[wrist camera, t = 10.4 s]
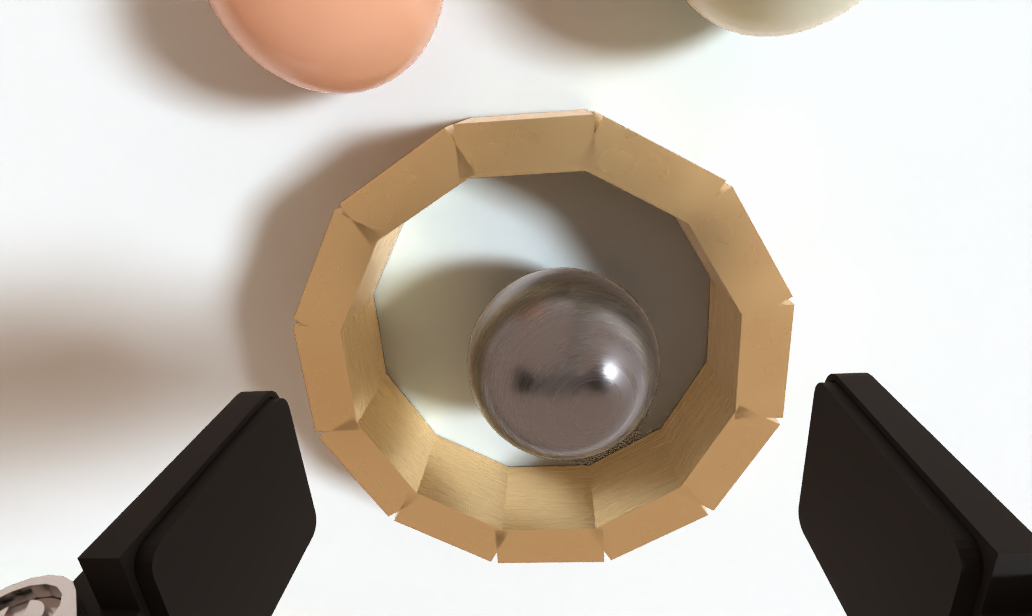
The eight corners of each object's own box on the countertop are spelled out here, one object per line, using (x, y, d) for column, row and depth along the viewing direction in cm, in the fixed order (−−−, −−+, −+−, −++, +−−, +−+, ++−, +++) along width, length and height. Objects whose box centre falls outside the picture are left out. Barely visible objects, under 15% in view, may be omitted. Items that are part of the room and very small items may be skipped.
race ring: (303, 129, 16) (252, 138, 13) (766, 96, 15) (814, 98, 12) (372, 499, 21) (344, 564, 18) (737, 492, 20) (768, 559, 17)
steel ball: (447, 258, 16) (473, 321, 12) (617, 237, 17) (700, 289, 13) (465, 413, 18) (493, 520, 14) (618, 387, 19) (692, 480, 15)
